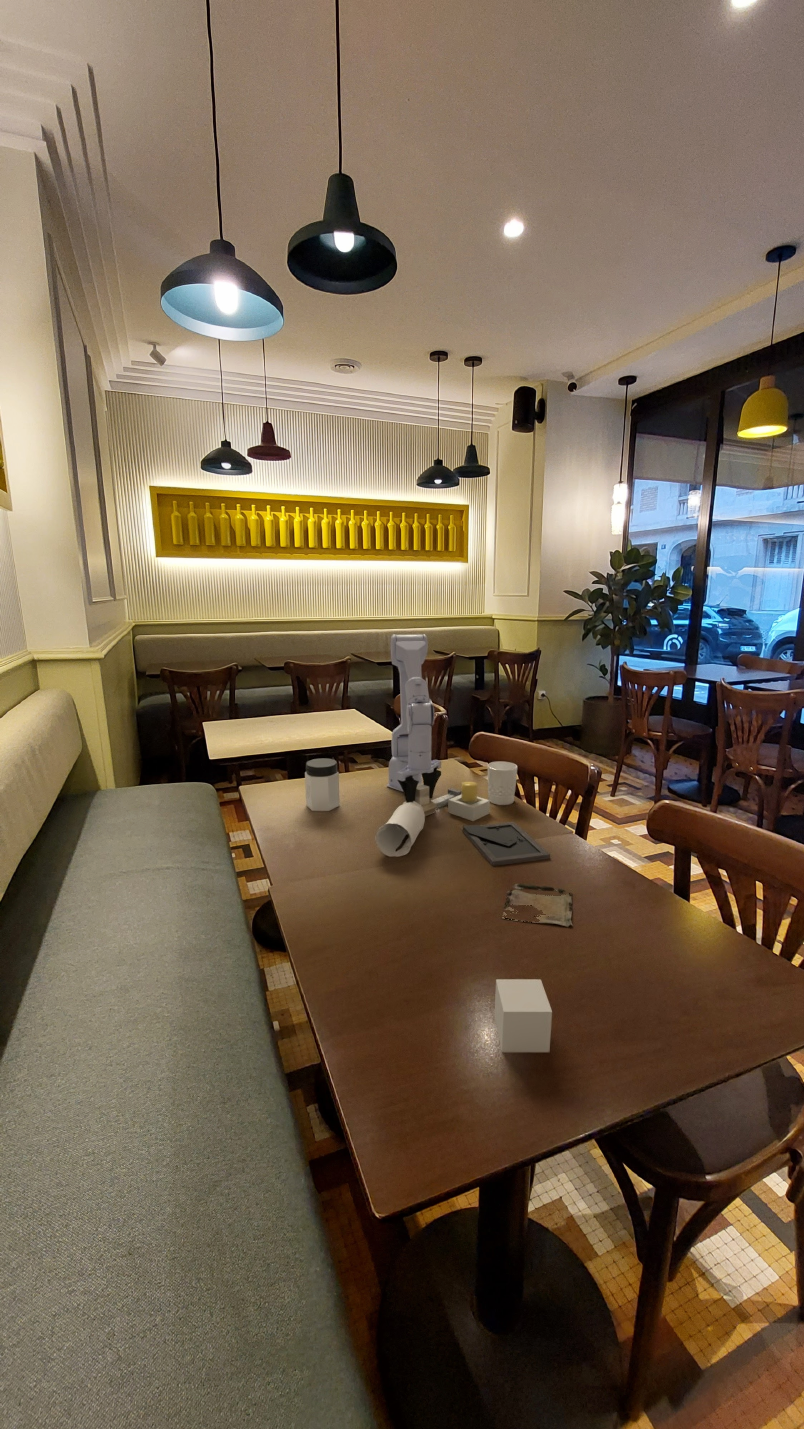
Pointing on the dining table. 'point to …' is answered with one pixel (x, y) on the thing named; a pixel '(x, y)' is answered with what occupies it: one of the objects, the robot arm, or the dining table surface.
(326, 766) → the jar
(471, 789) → the cylinder
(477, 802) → the frame
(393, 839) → the white hollow cylinder
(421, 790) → the carriage
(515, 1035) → the white cube
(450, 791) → the gray block handle
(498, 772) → the white cup
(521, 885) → the parchment
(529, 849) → the picture frame
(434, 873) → the dining table surface
